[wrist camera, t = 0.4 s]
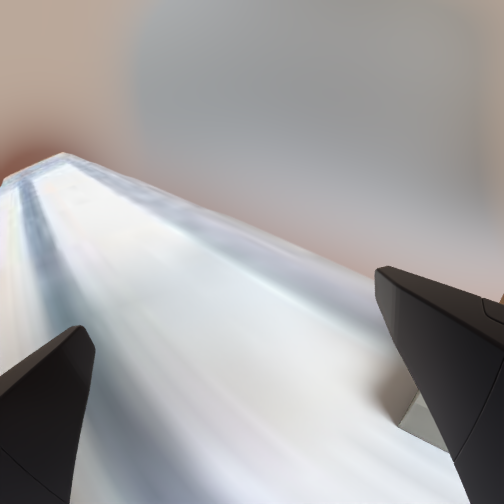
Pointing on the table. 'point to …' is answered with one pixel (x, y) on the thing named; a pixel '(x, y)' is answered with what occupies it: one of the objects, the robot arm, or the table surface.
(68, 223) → the table surface
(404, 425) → the box
